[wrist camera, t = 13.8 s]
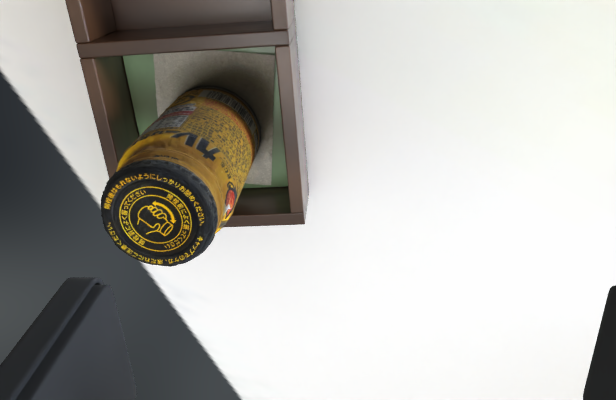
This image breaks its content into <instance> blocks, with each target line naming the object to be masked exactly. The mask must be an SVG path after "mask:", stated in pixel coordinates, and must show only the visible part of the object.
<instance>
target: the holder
mask: <svg viewBox="0 0 616 400" xmlns="http://www.w3.org/2000/svg"><path fill="white" fill-rule="evenodd" d="M65 1H66V5H67V9H68V13H69V17H70V21H71V25H72V29H73V33H74V37H75V41H76V43H78V44H77V49H78V53H79V57H80V58H81V59H80V62H81V66H82V70H83V74H84V78H85V82H86V86H87V90H88V94H89V98H90V102H91V106H92V110H93V114H94V118H95V122H96V126H97V130H98V135H99V139H100V143H101V147H102V151H103V155H104V159H105V163H106V167H107V171H108V175H109V179H110V178H111V177H112V176H113V174H114V173H115V172H116V170H117V167H118V163H119V161H120V160H121V158H122V156H123V153H124V151H125V150H126V149H127V148H128V147H129V146H130V145H132V144H133V142H134V141H135V140H136V139H137V138H138V137H139V136H140V135H141V134H142V133H143V132H144V131H145V130H146V129H147V128H148V127H149V126H150V125H151V124H152V123H153V122H154V121H155V120H156V119H158V112H157V100H156V85H155V69H154V55H153V54H160V53H175V52H191V51H207V50H216V51H231V52H243V53H256V54H266V55H275V67H274V106H273V146H272V177H271V185H259V184H247V183H244V186H243V188H242V190H241V193H240V195H239V198H238V200H237V203H236V205H235V208H234V211H233V214H232V215H231V217H230V218H229V220H228V221H227V223H226V224H225V225H224V226H223V227H241V226H269V225H296V224H305V218H306V211H307V203H308V195H309V187H308V175H307V162H306V149H305V137H304V124H303V111H302V98H301V86H300V73H299V60H298V48H297V35H296V22H295V10H294V0H65Z"/></svg>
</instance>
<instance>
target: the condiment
mask: <svg viewBox="0 0 616 400" xmlns="http://www.w3.org/2000/svg"><path fill="white" fill-rule="evenodd" d="M153 55H154V69H155V85H156V100H157V112H158V119H156V120H155V121H154V122H153V123H152V124H151V125H150V126H149V127H148V128H147V129H146V130H145V131H144V132H143V133H142V134H141V135H140V136H139V137H138V138H137V139H136V140H135V141H134V142H133V144H132V145H130V146H129V147H128V148H127V149H126V150H125V151H124V153H123V156H122V158H121V160H120V161H119V163H118V167H117V170H116V172H115V173H114V174H113V176H112V177H111V178H110V179H109V181H108V182H107V185H106V187H105V191H103V195H102V198H101V212H102V215H101V216H102V218H103V224H104V227H105V230H106V231H107V232H108V234H109V235H110V236H111V238H112V239H113V241H114V243H115V245H116V246H117V247H118V248H119V249H120V250H122V251H123V252H125V253H126V254H128V255H129V256H131V257H133V258H135V259H137V260H139V261H141V262H144V263H148V264H152V265H161V266H176V265H178V264H183V263H186V262H188V261H190V260H192V259H194V258H195V257H197V256H198V255H200V254H201V253H203V252H204V251H205V250H206V248H207V247H208V246H209V245H210V244H211V242H212V240H213V238H214V236H215V233H217V232H218V231H219V230H220V229H221V228H223V226H224V225H225V224H226V223H227V221H228V220H229V218H230V217H231V215H232V214H233V211H234V208H235V205H236V203H237V200H238V198H239V195H240V193H241V190H242V188H243V186H244V183H247V184H259V185H271V177H272V146H273V106H274V67H275V55H266V54H256V53H243V52H231V51H216V50H207V51H191V52H175V53H160V54H153Z"/></svg>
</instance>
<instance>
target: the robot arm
mask: <svg viewBox="0 0 616 400" xmlns="http://www.w3.org/2000/svg"><path fill="white" fill-rule="evenodd" d="M136 395H137V389H136V383H135V379H134V375H133V371H132V367H131V363H130V359H129V354H128V350H127V346H126V342H125V338H124V334H123V330H122V326H121V322H120V318H119V314H118V310H117V305H116V301H115V297H114V293H113V290H112V288H111V286H110V285H104V283H103V281H102V280H101V279H100V278H98V277H72V278H68V279H67V280H66V281H65V282H64V283H63V284H62V286H61V287H60V288H59V290H58V291H57V292H56V294H55V295H54V296H53V298H52V299H51V300H50V301H49V303H48V304H47V305H46V306H45V308H44V309H43V310H42V312H41V313H40V314H39V316H38V317H37V318H36V320H35V321H34V322H33V324H32V325H31V326H30V327H29V329H28V330H27V331H26V333H25V334H24V335H23V336H22V338H21V339H20V340H19V342H18V343H17V344H16V346H15V347H14V348H13V350H12V351H11V352H10V353H9V355H8V356H7V357H6V359H5V360H4V361H3V362H2V364H1V365H0V400H136ZM583 400H616V286H612V287H611V288H610V290H609V293H608V297H607V301H606V305H605V309H604V313H603V317H602V321H601V325H600V329H599V333H598V337H597V341H596V345H595V349H594V353H593V357H592V361H591V365H590V369H589V373H588V377H587V381H586V385H585V389H584V394H583Z"/></svg>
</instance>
